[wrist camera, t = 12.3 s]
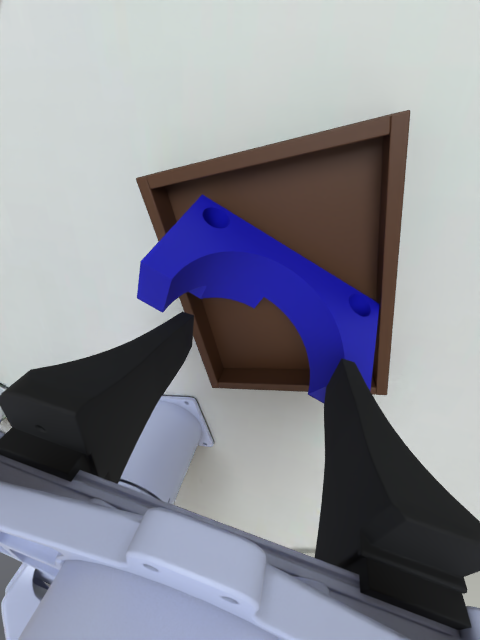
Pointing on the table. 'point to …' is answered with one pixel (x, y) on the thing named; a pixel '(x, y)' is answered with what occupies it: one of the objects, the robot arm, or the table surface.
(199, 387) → the table surface
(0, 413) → the syrup box
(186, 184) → the tray
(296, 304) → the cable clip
